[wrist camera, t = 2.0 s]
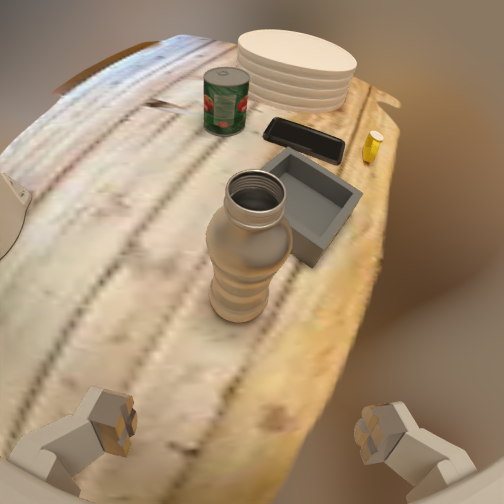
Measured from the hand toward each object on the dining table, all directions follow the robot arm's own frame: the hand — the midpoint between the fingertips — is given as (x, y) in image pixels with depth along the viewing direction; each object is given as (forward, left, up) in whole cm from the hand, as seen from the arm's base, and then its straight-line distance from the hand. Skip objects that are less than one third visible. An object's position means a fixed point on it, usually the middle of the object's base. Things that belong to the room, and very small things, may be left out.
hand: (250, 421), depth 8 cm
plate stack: (-32, +61, -23) cm, 73 cm away
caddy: (-9, +26, -23) cm, 36 cm away
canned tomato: (-31, +35, -23) cm, 52 cm away
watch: (-6, +48, -23) cm, 54 cm away
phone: (-17, +42, -23) cm, 51 cm away
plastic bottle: (-7, +10, -23) cm, 26 cm away
